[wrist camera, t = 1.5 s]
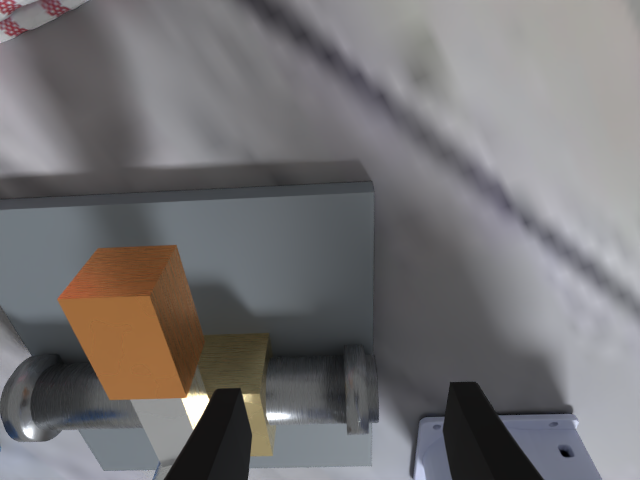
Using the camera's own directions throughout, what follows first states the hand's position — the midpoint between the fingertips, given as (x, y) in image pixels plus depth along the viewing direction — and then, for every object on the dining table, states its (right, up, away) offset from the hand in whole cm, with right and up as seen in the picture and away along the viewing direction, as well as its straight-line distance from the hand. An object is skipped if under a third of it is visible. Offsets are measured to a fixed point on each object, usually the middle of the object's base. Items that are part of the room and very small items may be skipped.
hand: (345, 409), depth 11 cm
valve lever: (-6, -1, +6) cm, 9 cm away
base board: (-7, -2, +13) cm, 14 cm away
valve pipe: (-7, -2, +12) cm, 14 cm away
